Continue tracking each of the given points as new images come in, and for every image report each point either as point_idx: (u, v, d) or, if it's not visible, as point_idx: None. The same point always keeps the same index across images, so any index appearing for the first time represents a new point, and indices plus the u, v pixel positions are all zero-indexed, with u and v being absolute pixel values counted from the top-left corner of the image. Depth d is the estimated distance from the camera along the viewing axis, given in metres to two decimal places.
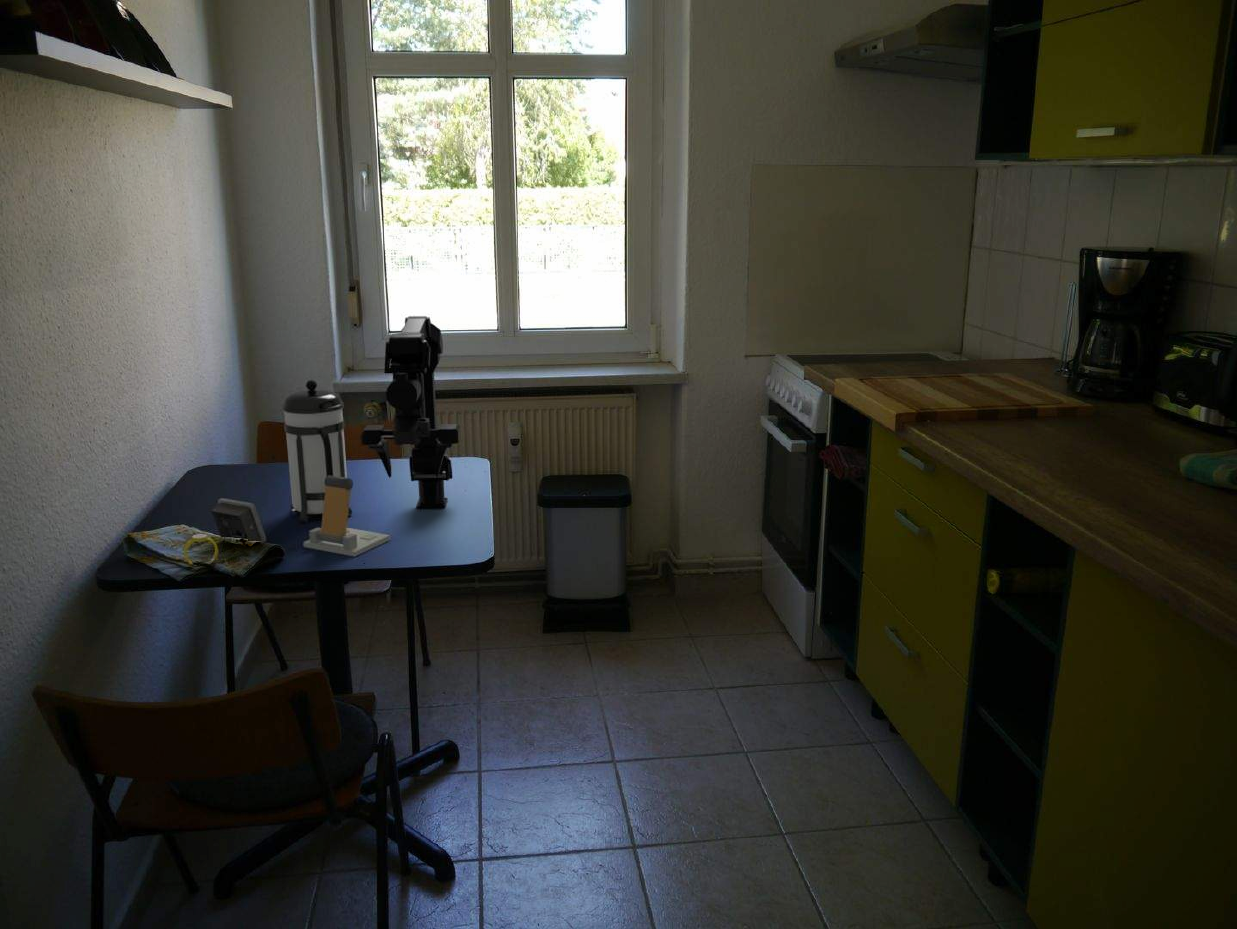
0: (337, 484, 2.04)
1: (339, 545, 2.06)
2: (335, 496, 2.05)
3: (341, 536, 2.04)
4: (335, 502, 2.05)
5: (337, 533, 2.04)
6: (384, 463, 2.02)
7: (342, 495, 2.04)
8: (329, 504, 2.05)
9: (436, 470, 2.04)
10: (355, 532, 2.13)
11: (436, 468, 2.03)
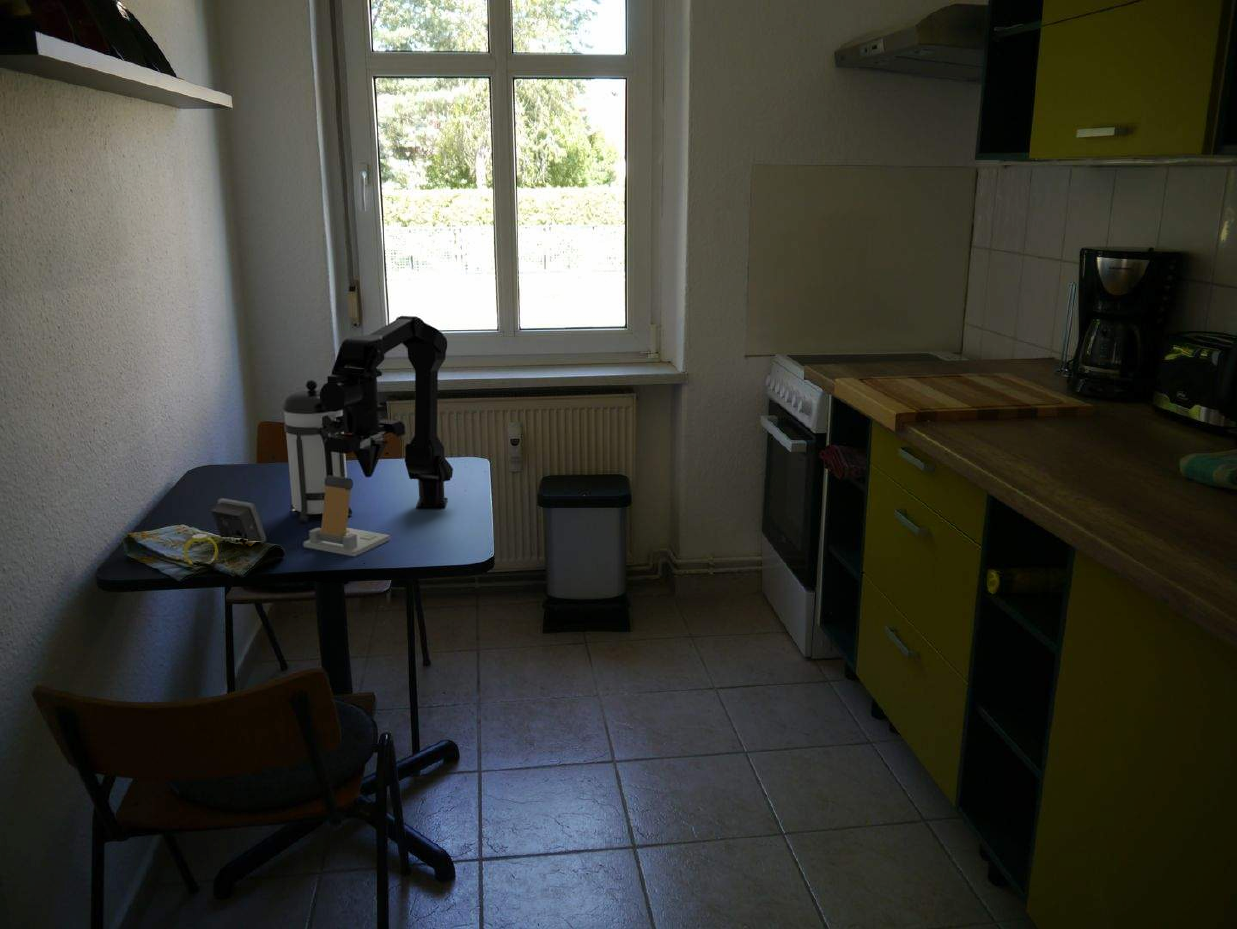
0: (337, 484, 2.04)
1: (339, 545, 2.06)
2: (335, 496, 2.05)
3: (341, 536, 2.04)
4: (335, 502, 2.05)
5: (337, 533, 2.04)
6: None
7: (342, 495, 2.04)
8: (329, 504, 2.05)
9: None
10: (355, 532, 2.13)
11: None
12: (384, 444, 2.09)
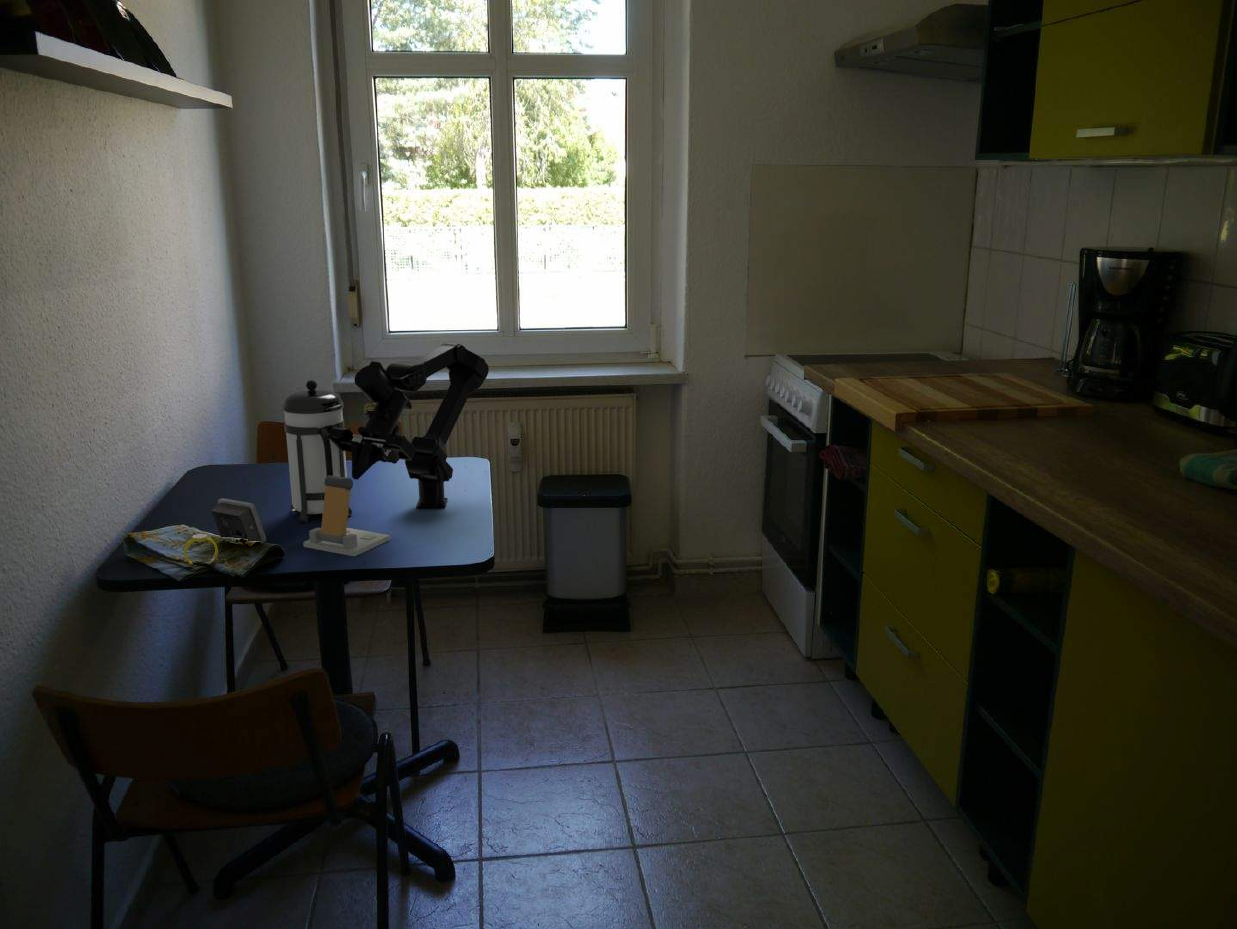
0: (337, 484, 2.04)
1: (339, 545, 2.06)
2: (335, 496, 2.05)
3: (341, 536, 2.04)
4: (335, 502, 2.05)
5: (337, 533, 2.04)
6: None
7: (342, 495, 2.04)
8: (329, 504, 2.05)
9: None
10: (355, 532, 2.13)
11: None
12: (368, 444, 2.09)
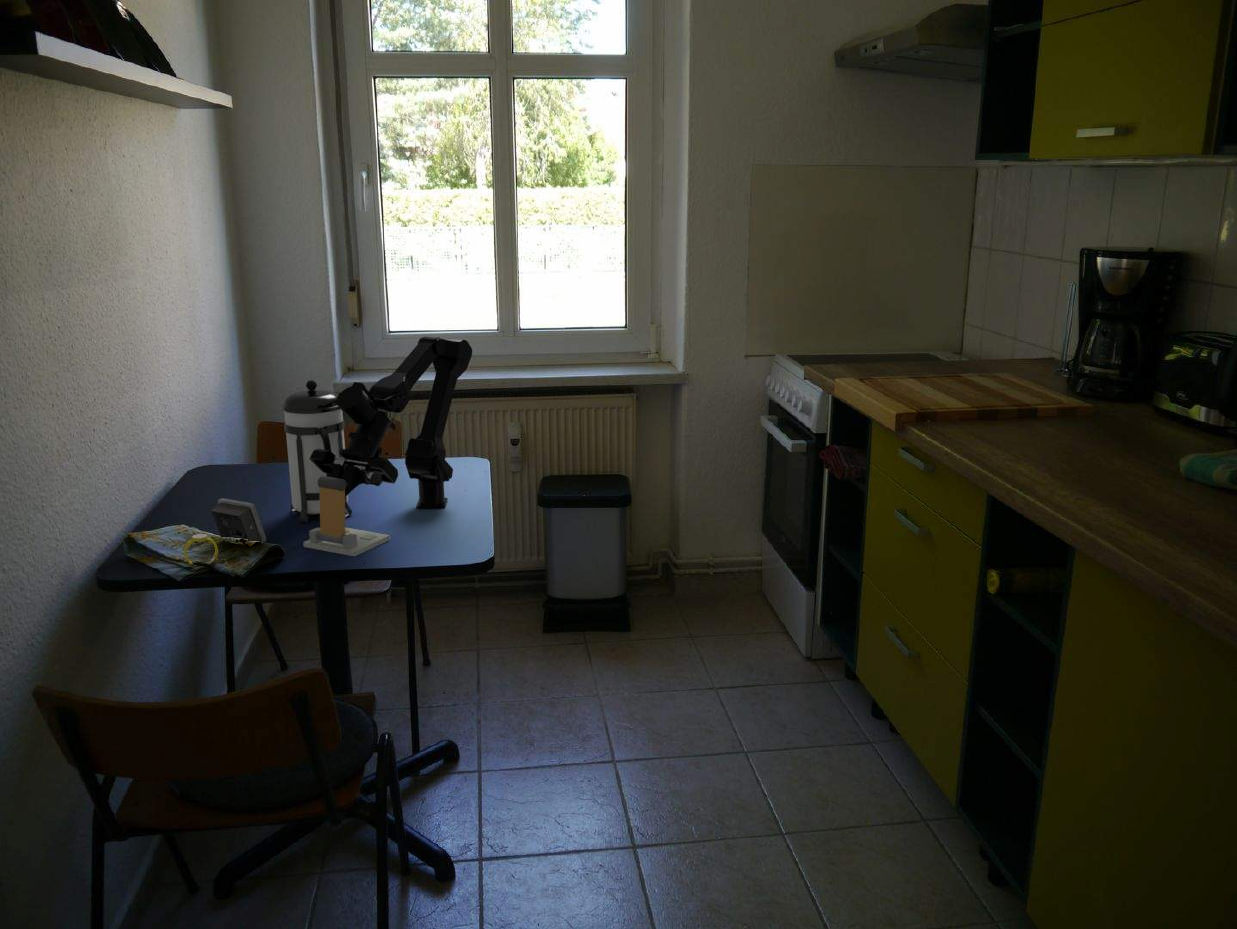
0: (330, 486, 2.02)
1: (339, 545, 2.06)
2: (330, 497, 2.03)
3: (341, 537, 2.04)
4: (331, 503, 2.04)
5: (336, 534, 2.04)
6: None
7: (337, 496, 2.03)
8: (325, 505, 2.04)
9: None
10: (355, 532, 2.13)
11: None
12: (350, 467, 2.05)
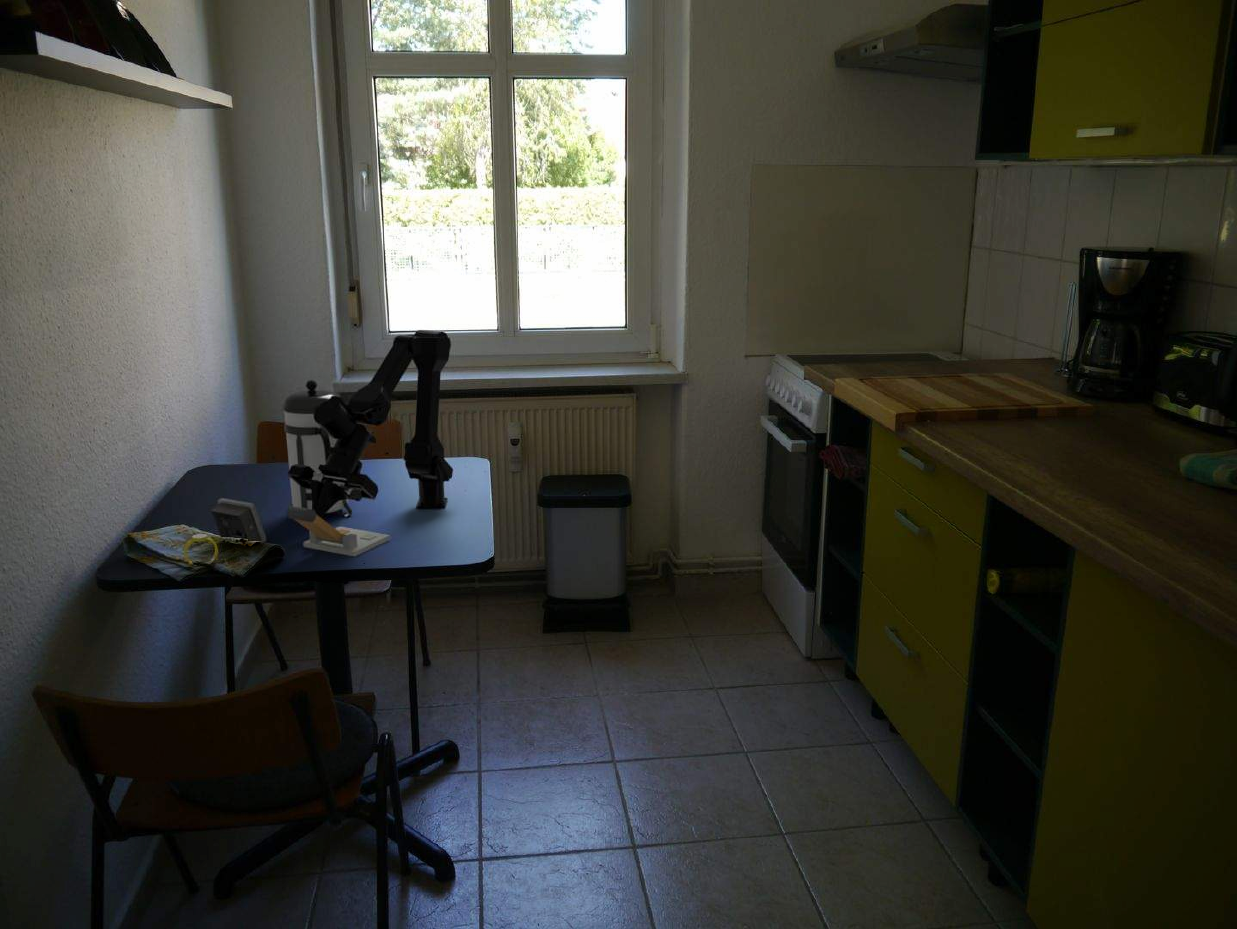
0: (302, 520, 1.96)
1: (339, 545, 2.06)
2: (308, 523, 1.99)
3: (340, 541, 2.04)
4: (312, 526, 2.00)
5: (334, 540, 2.04)
6: None
7: (314, 524, 1.98)
8: (308, 526, 2.01)
9: None
10: (355, 532, 2.13)
11: None
12: (329, 483, 2.00)
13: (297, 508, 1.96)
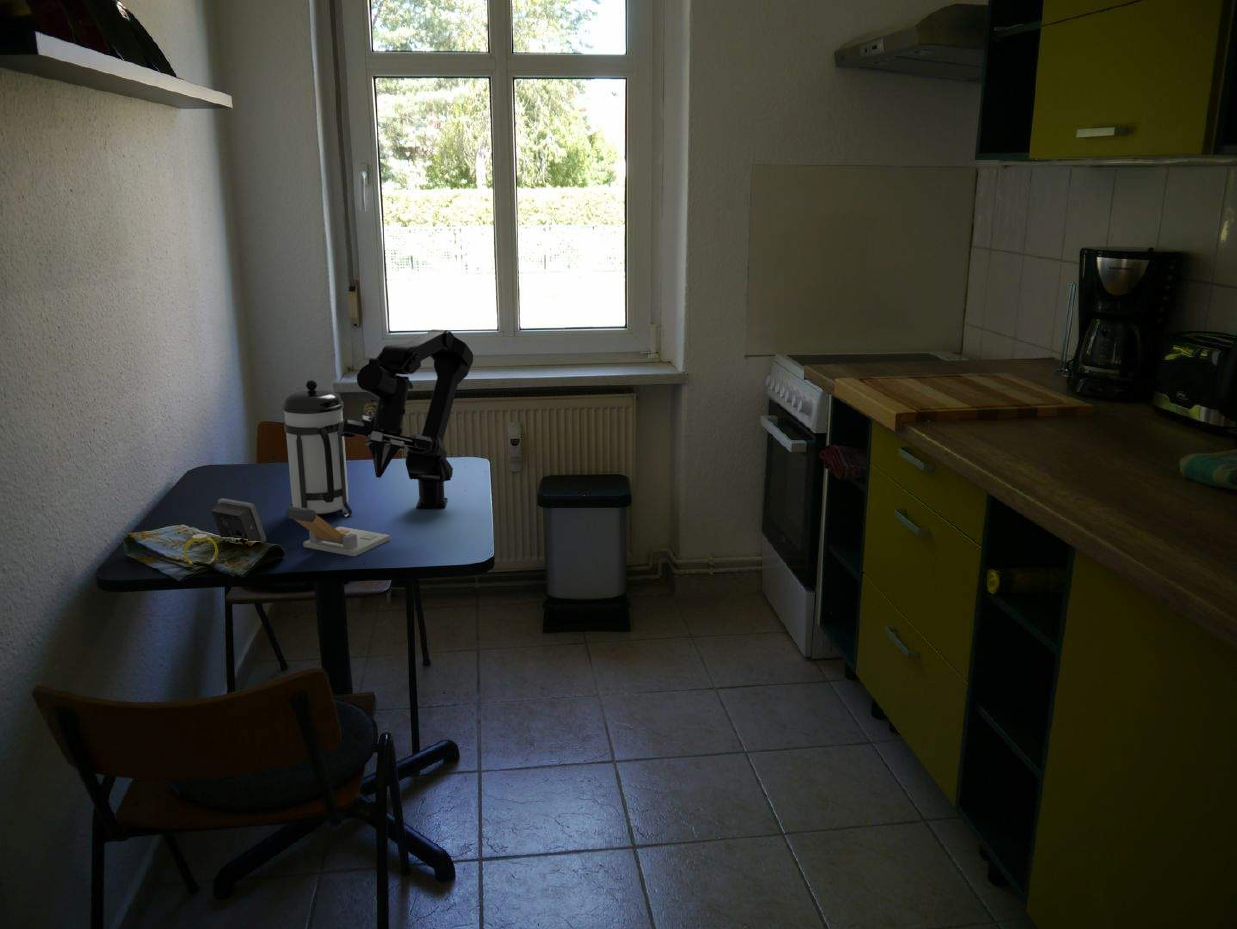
0: (302, 520, 1.96)
1: (339, 545, 2.06)
2: (308, 524, 1.99)
3: (340, 541, 2.04)
4: (312, 526, 2.00)
5: (334, 540, 2.04)
6: None
7: (314, 524, 1.98)
8: (308, 526, 2.01)
9: None
10: (355, 532, 2.13)
11: None
12: (397, 446, 2.11)
13: (297, 508, 1.96)
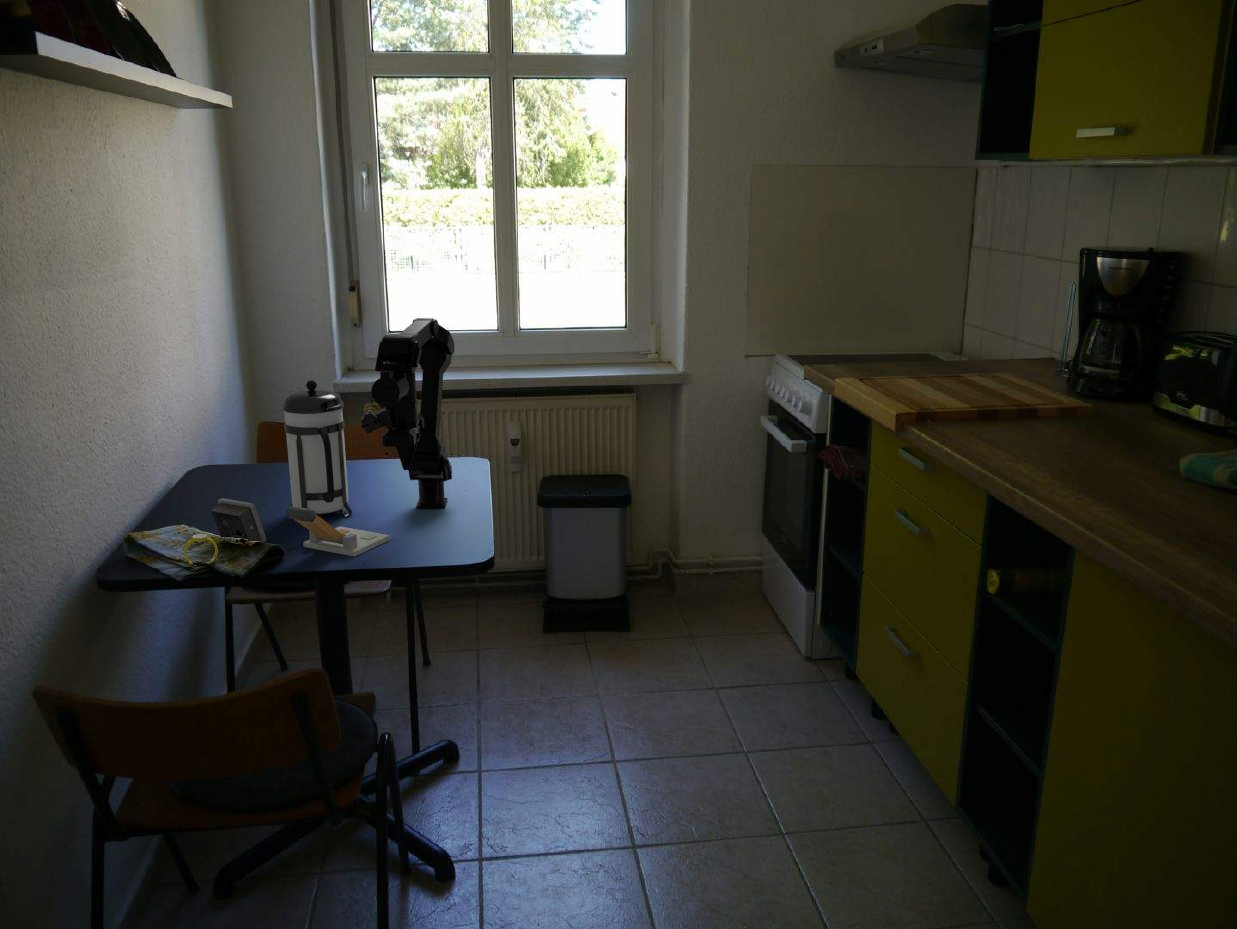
0: (302, 520, 1.96)
1: (339, 545, 2.06)
2: (308, 524, 1.99)
3: (340, 541, 2.04)
4: (312, 526, 2.00)
5: (334, 540, 2.04)
6: None
7: (314, 524, 1.98)
8: (308, 526, 2.01)
9: None
10: (355, 532, 2.13)
11: None
12: (420, 436, 2.16)
13: (297, 508, 1.96)
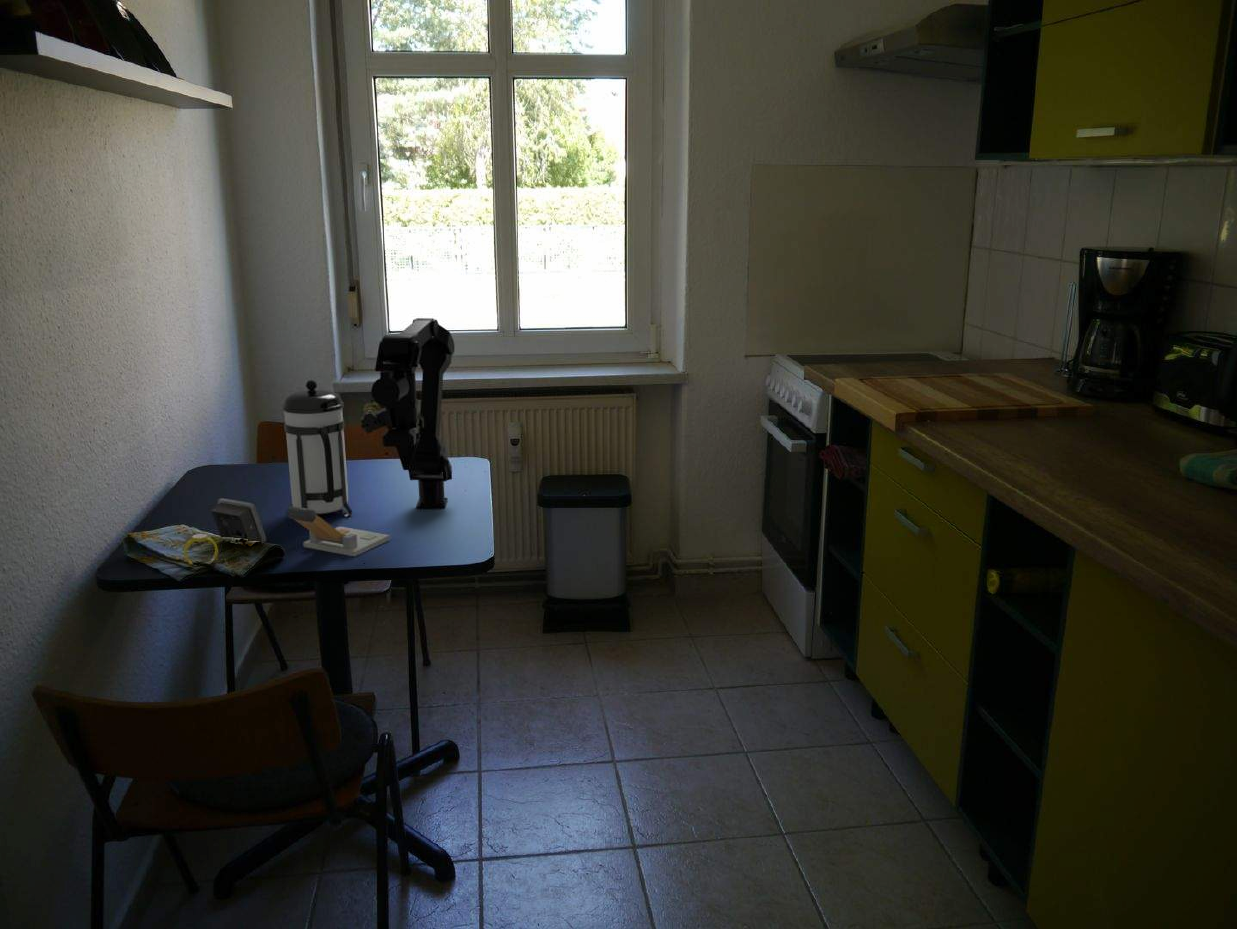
0: (302, 520, 1.96)
1: (339, 545, 2.06)
2: (308, 524, 1.99)
3: (340, 541, 2.04)
4: (312, 526, 2.00)
5: (334, 540, 2.04)
6: None
7: (314, 524, 1.98)
8: (308, 526, 2.01)
9: None
10: (355, 532, 2.13)
11: None
12: (420, 436, 2.16)
13: (297, 508, 1.96)
